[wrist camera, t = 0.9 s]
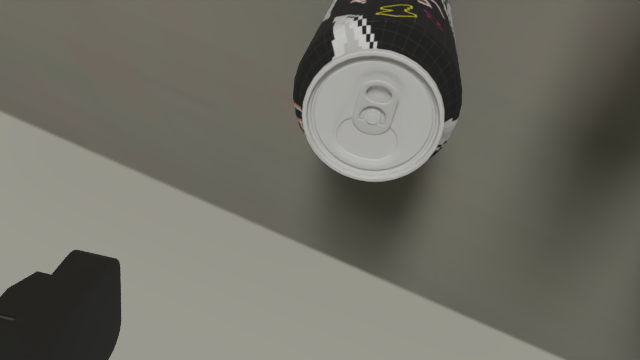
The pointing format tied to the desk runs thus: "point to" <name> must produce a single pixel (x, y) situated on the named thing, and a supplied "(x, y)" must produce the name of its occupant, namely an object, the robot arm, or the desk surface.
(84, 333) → the robot arm
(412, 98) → the beverage can
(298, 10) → the desk surface
